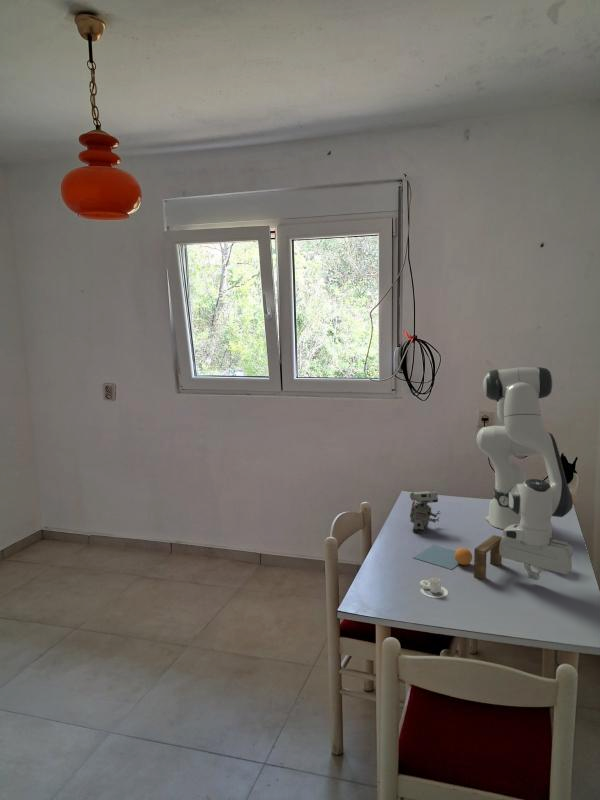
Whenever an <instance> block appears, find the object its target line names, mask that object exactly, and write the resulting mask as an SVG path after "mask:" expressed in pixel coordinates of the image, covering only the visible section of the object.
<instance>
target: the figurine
mask: <svg viewBox="0 0 600 800" xmlns="http://www.w3.org/2000/svg"><path fill="white" fill-rule="evenodd" d="M409 498H410V500H411V501H412V503H411V504H412V505H411V508H410V509H411V510H410V514H409V515H410V516H409V518H410V519H409V520H410V521H409V522H411V523H412V524H413V528H412V532H413V533H417V532H418V533H420V534H424V533H425V527H428V526H429V522H432V523H434V524H435V523H436V522H440V520H439V519H440V517H438V518H437V516H438V515H440V513H441V511H440V510H438V511H437V513H433V512H432V506H431V505H428V504H431V503H438V502H439V499H438V494H437V491H436V490H427V491H426V490H425V491H414V492H411V493H410V494H409ZM431 516H432V517H433V518H432V517H431Z"/></svg>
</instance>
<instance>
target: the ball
mask: <svg viewBox="0 0 600 800" xmlns="http://www.w3.org/2000/svg"><path fill="white" fill-rule="evenodd" d="M455 551H456V552H455V560H456V561H457V562H458V563H459V565H461V566H467V565H469V564H470V563H471V562H472V560H473V554H472V552H471V551H470V550H469V548H466V547H459V548H458V549H456V550H455Z"/></svg>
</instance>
